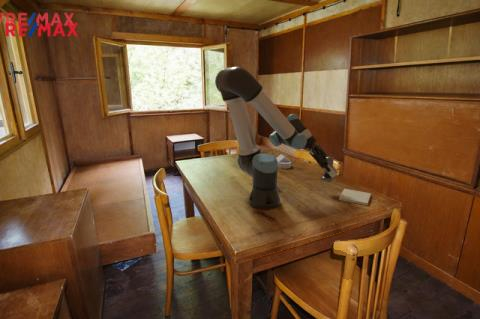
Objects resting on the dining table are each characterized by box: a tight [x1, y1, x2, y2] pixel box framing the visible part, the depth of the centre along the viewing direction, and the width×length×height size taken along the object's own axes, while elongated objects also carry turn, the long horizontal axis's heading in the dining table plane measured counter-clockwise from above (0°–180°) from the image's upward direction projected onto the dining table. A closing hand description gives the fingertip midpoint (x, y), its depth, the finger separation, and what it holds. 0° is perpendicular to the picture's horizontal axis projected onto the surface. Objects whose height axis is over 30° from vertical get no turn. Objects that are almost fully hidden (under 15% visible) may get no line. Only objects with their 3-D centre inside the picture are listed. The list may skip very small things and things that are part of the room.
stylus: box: [320, 155, 335, 183], centre depth 140 cm, size 6×6×12 cm
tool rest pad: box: [338, 188, 372, 206], centre depth 136 cm, size 13×13×1 cm
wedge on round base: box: [275, 154, 292, 170], centre depth 188 cm, size 9×7×13 cm
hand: (335, 174), depth 139 cm, fingers closed on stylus, 4 cm apart
